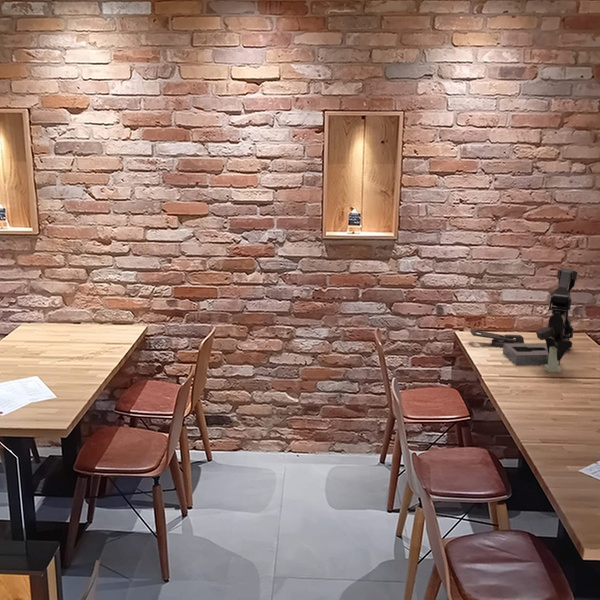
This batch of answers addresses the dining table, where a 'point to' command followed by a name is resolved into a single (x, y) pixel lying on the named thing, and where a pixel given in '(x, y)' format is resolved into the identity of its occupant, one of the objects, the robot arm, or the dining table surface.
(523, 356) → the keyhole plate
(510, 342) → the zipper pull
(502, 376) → the dining table surface
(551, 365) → the headed peg
